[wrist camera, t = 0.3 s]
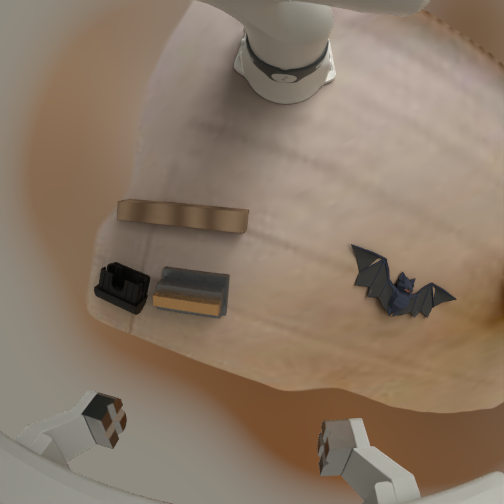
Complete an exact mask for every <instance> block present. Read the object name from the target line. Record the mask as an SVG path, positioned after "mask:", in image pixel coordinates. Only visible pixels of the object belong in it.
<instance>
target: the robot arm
mask: <svg viewBox="0 0 504 504" xmlns="http://www.w3.org/2000/svg"><path fill="white" fill-rule="evenodd" d="M197 1H200V2H203V3H206V4H209V5H212V6H214V7H216V8H218V9H220V10H222V11H224V12H226V13H227V14H229V15H231V16H232V17H234V18H235V19H237V20H238V21H239V22H241V23H242V24H243V25H244V32H245V36H244V38H242V40H241V46H240V49H239V51H238V54H237V57H236V59H235V62H234V69H235V70H236V71H237V72H238V73H239V74H241V75H242V76H244V77H245V78H246V79H247V80H248V82H249V84H250V85H251V87H252V88H253V89H254V90H255V91H256V92H257V93H258V94H259V95H260V96H262V97H263V98H265V99H267V100H269V101H272V102H276V103H281V104H292V103H298V102H301V101H304V100H306V99H308V98H309V97H311V96H312V95H313V94H314V93H316V91H317V90H318V89H319V88H320V87H321V86H322V85H325V84H327V83H330V82H332V81H333V80H334V79H335V77H336V72H335V67H334V61H333V56H332V51H331V46H330V41H329V36H330V34H331V31H332V29H333V25H334V16H333V12H332V9H331V7H330V6H332V7H338V8H343V9H348V10H353V11H357V12H363V13H374V14H383V15H394V16H403V17H409V16H412V15H414V14H416V13H418V12H419V11H420V10H422V9H423V8H424V7H425V6H426V5H427V4H428V3H429V2H430V1H431V0H197ZM240 60H241V61H240ZM329 70H330V71H329ZM122 406H123V404H122V401H121V399H119V398H116V397H113V396H109V395H106V394H103V393H99V392H96V391H92V390H88V391H87V392H86V393H85V394H84V395H83V397H82V398H81V399H80V400H79V402H78V403H77V404H76V405H75V406H74V408H73V409H72V410H71V411H69V410H67V411H65V412H62V413H60V414H57V415H54V416H51V417H49V418H46V419H43V420H40V421H37V422H34V423H32V424H28V425H27V427H26V428H25V429H24V430H23V431H22V432H21V433H20V434H19V436H18V437H17V438H16V439H15V440H14V439H12V438H10V437H9V436H7V435H6V434H4V433H3V432H1V431H0V504H172V503H168V502H164V501H159V500H155V499H151V498H147V497H144V496H141V495H137V494H134V493H130V492H127V491H124V490H121V489H118V488H115V487H112V486H109V485H107V484H104V483H101V482H99V481H96V480H93V479H91V478H88V477H86V476H83V475H81V474H79V473H76V472H74V471H72V470H71V469H70V467H69V466H68V464H67V462H68V461H70V460H72V459H73V458H75V457H77V456H79V455H80V454H82V453H84V452H85V451H87V450H89V449H90V448H92V447H94V446H95V445H96V444H98V445H101V446H104V447H108V448H111V449H114V447H115V445H116V443H117V442H118V440H119V437H118V434H120V433H122V432H123V431H124V429H125V427H126V422H127V418H126V414H125V412H124V411H123V410H122V409H121V407H122ZM321 429H322V432H321V433H320V434H319V437H318V446H317V447H318V449H317V450H318V455H319V456H320V457H321V458H320V461H319V469H320V476H331V475H341V476H342V477H343V478H344V479H345V480H346V481H347V483H348V484H349V485H350V486H351V487H352V488H353V489H354V490H355V491H356V492H357V493H358V494H359V495H360V496H361V498H363V500H364V503H363V504H504V473H501V472H492V473H489V474H486V475H484V476H482V477H480V478H477V479H475V480H472V481H470V482H467V483H465V484H462V485H459V486H457V487H454V488H451V489H448V490H445V491H442V492H439V493H436V494H432V495H429V496H426V497H422V498H421V496H420V493H419V490H418V487H417V484H416V481H415V478H414V476H413V475H412V474H411V473H409V472H408V471H407V470H405V469H404V468H402V467H401V466H400V465H398V464H397V463H396V462H394V461H393V460H391V459H390V458H389V457H387V456H386V455H385V454H383V453H382V452H381V451H379V450H378V449H377V448H375V447H370V444H369V440H368V437H367V434H366V430H365V427H364V424H363V420H362V419H361V418H356V419H342V420H341V419H340V420H324V421H323V423H322V426H321Z"/></svg>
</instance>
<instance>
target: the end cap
mask: <svg viewBox="0 0 504 504" xmlns="http://www.w3.org/2000/svg"><path fill="white" fill-rule="evenodd" d="M149 283H150V277H149V276H148V275H145V274H143V273H141V272H138V271H136V270H134V269H131V268H129V267H127V266H124V265H122V264H120V263H117V262H115V263H110V264H108V265H107V271H106V267H103V268H102V269H101V273H100V280H99V284H98V285H97V286H95V287H94V292H95V295H96V296H97V297H99V298H101V299H103V300H105V301H108V302H110V303H112V304H114V305H116V306H118V307H120V308H122V309H125V310H127V311H129V312H131V313H133V314H136V315H137V314H139V313H140V312H141V310H142V309H143V307H144V305H145V303H146V300H147V296H148V295H147V292H148V287H149Z"/></svg>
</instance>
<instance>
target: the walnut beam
mask: <svg viewBox="0 0 504 504" xmlns="http://www.w3.org/2000/svg"><path fill="white" fill-rule="evenodd" d="M248 214H249V210H245V209H236V208H227V207H217V206H206V205H196V204H184V203H173V202H160V201H147V200H133V199H128V200H122V201H118V211H117V220H124V221H134V222H144V223H154V224H164V225H173V226H183V227H192V228H201V229H211V230H220V231H228V232H237V233H245V231H246V230H247V224H248Z"/></svg>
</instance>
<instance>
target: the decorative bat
mask: <svg viewBox="0 0 504 504" xmlns="http://www.w3.org/2000/svg"><path fill="white" fill-rule="evenodd" d="M351 245H352V244H351ZM352 248H353V250H354V252H355V255H356V257H357V261H358V267H359V275H358V278H357V281H356V284H355V285H359V286H367V287H370V290H369V294H368V297H379V299H380V301H381V303H382V306H383V307H384V309H385V310H386V311H387V312H388V314H389V315H390V314H391V313H393V312H395V313H394V314H393V315H392V316H395V315H403V314H407V313H410V312H411V313H412V314H413V316H414V318H415V317H416V315H417V314H418V313H419V312H420V311H421V312H422V313H423V314H424V315H425V316H426V317H428V315H429V314H430V312H431V310H432V308H433V307H434V306H436V305H438V304H440V303H442V302H445V301H451V300H457V299H456V298H454V297H453V296H452V295H451V294H449V293H448V292H447V291H445V290H444V289H442V288H441V287H439V286H437V285H435V284H433V283H430V284H428V285H426V286H424V287H423V288H422V289H421V290H420V291H419V292H418V293H417V294H410V293H411V292H413V287H414V282H415V279H416V278H415V279H411V280H409V279H408V278H407V277H406V276H405V274H404V273H403V272H402V274H401V276H400V278H399V280H398V281H397V288H396V287H395V285H394V284H393V283H392V282H391V280H390V276H389V267H388V263H387V259H386V258H384V257H382V256H380V255H378V254H376V253H374V252H372V251H369V250H366V249H364V248H361V247H358V246H355V245H352ZM378 258H381V259H382V260H380V261H378V262H377V263H375V264H373V265H371V264H372V263H373V262H374V261H375V260H376V259H378ZM370 265H371V266H370ZM368 266H369V267H368ZM432 285H433V286H434V287H435V294H434V298H433V287H432V293H431V286H432ZM408 295H409V296H408ZM392 316H391V317H392Z"/></svg>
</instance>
